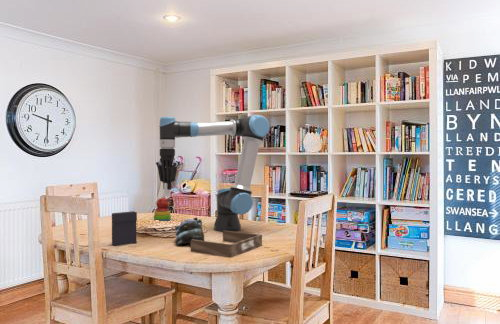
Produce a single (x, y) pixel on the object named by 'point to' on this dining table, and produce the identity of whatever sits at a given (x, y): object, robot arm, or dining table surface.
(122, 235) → the upright charcoal panel
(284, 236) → the dining table surface
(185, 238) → the dark grey rounded lump
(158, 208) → the stacking bear
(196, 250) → the labelled bay
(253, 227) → the dining table surface
